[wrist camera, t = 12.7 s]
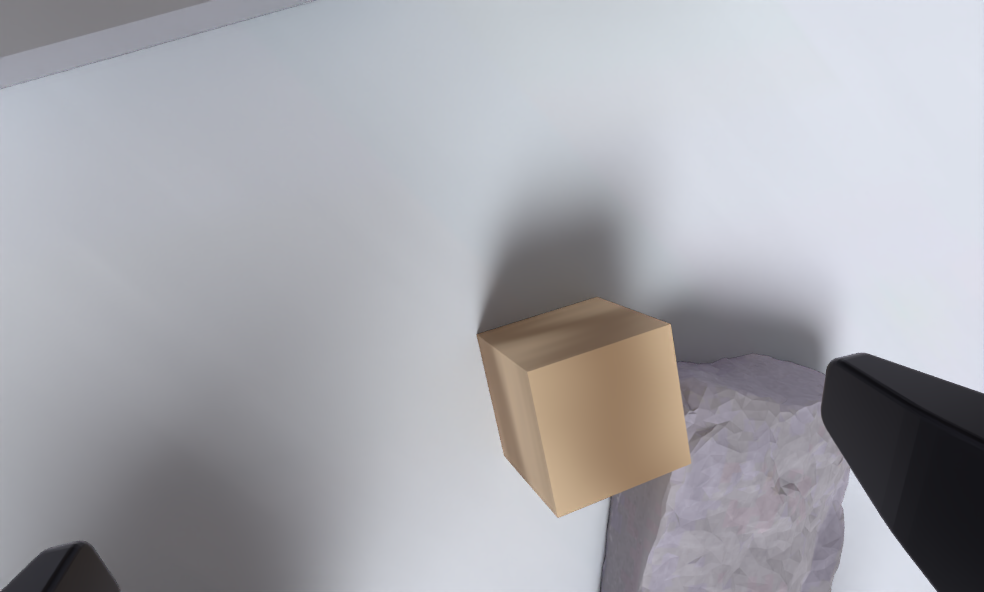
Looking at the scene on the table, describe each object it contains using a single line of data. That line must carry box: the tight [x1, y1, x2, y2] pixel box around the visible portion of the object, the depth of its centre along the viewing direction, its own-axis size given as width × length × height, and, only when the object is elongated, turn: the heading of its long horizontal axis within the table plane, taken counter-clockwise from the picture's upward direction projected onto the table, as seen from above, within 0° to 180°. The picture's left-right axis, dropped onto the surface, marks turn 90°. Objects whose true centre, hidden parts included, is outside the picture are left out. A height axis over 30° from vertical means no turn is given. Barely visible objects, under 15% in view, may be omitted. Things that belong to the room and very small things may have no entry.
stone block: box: [600, 353, 850, 592], centre depth 25 cm, size 12×5×10 cm
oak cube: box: [477, 297, 691, 518], centre depth 21 cm, size 4×4×4 cm
